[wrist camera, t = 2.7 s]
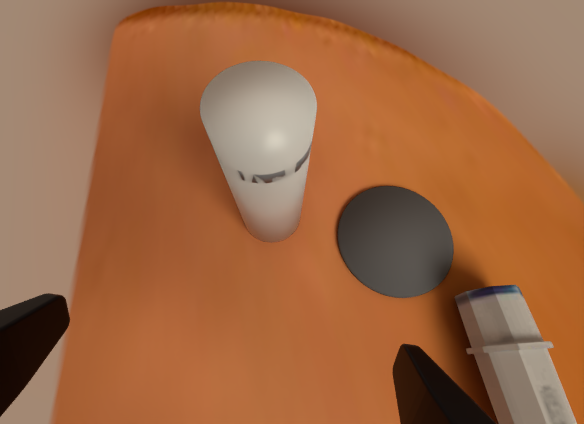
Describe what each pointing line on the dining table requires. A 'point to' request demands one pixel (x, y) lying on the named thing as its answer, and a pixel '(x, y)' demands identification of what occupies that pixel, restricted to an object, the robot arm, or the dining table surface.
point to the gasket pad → (395, 242)
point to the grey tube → (513, 357)
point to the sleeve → (262, 142)
